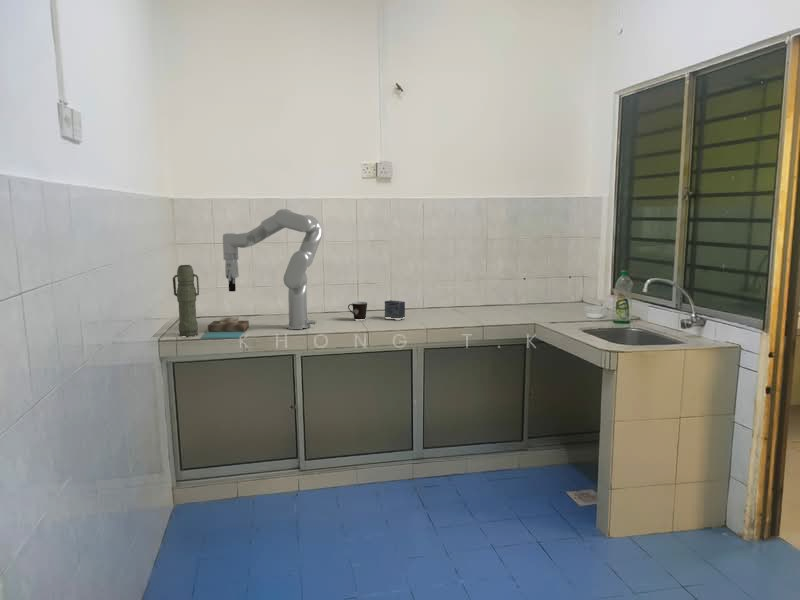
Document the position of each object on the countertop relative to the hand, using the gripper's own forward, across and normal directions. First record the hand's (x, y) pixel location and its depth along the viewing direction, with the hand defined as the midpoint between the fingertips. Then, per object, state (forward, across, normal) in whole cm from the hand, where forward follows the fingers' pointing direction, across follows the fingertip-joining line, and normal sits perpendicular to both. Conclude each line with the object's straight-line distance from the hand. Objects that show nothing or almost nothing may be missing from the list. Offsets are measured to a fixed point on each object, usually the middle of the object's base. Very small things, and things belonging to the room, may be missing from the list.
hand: (232, 291), depth 302 cm
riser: (+19, -11, 0) cm, 22 cm away
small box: (+19, +17, -88) cm, 92 cm away
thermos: (+19, -21, +18) cm, 34 cm away
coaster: (+15, -10, 0) cm, 18 cm away
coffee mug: (+19, +16, -67) cm, 72 cm away
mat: (+19, -24, 0) cm, 30 cm away
